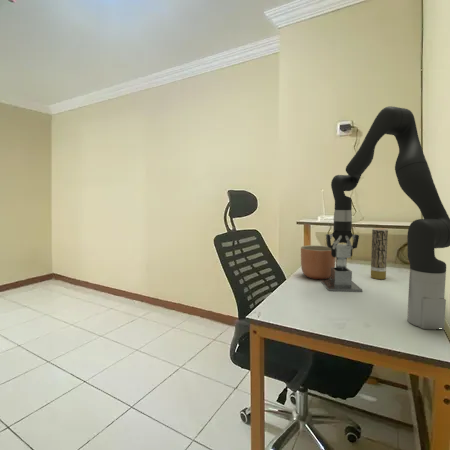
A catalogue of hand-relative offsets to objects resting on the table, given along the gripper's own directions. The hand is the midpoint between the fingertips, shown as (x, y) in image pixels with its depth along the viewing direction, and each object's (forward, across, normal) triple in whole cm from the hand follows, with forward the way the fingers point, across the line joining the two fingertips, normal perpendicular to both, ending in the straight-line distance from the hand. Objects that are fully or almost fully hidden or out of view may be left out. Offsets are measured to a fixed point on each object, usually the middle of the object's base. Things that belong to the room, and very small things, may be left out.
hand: (341, 257), depth 128 cm
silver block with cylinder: (+6, 0, +2) cm, 6 cm away
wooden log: (+14, +23, +17) cm, 32 cm away
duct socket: (+14, 0, 0) cm, 14 cm away
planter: (+14, -7, +16) cm, 22 cm away
